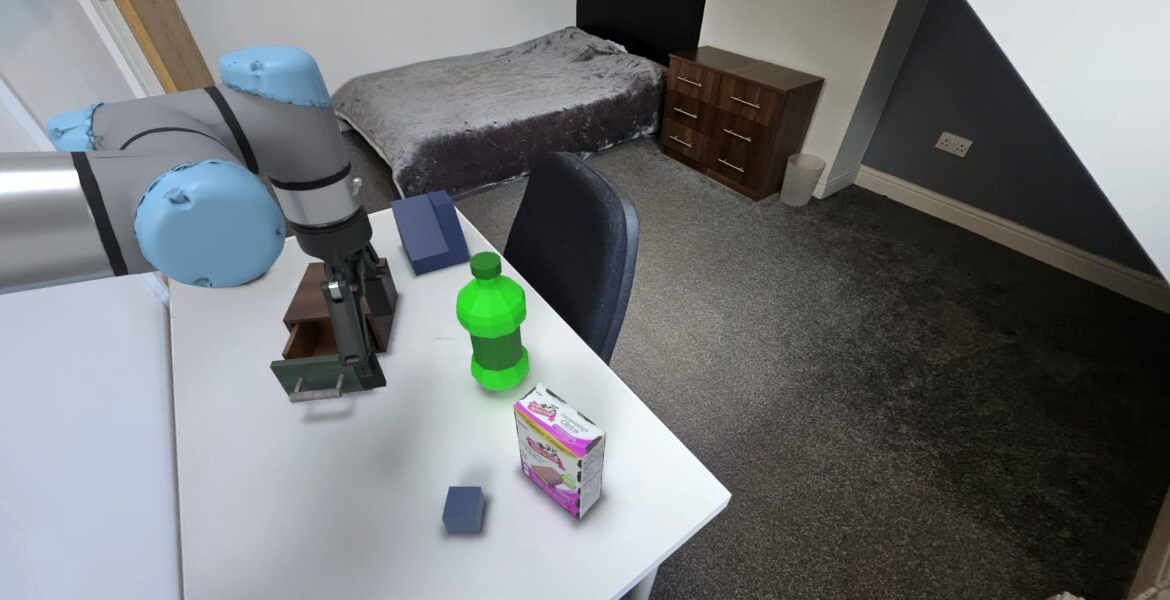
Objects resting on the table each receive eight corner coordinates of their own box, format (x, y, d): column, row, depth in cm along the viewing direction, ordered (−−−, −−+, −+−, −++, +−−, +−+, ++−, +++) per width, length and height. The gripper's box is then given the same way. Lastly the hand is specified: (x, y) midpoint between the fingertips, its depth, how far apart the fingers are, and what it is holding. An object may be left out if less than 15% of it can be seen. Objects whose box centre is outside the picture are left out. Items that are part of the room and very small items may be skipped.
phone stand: (416, 276, 101) (403, 228, 93) (403, 247, 109) (389, 201, 101) (469, 260, 106) (461, 214, 98) (453, 234, 114) (444, 189, 106)
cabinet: (386, 352, 84) (371, 312, 78) (304, 360, 83) (282, 320, 76) (398, 296, 96) (386, 257, 90) (327, 302, 94) (309, 262, 88)
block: (447, 532, 61) (441, 518, 58) (454, 501, 64) (449, 486, 61) (479, 533, 61) (475, 518, 58) (485, 501, 64) (481, 486, 62)
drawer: (367, 411, 74) (352, 379, 69) (281, 421, 72) (259, 389, 67) (386, 328, 88) (374, 296, 82) (314, 335, 86) (298, 302, 81)
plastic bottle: (524, 406, 76) (512, 288, 60) (462, 396, 77) (433, 277, 61) (539, 360, 84) (532, 244, 67) (482, 352, 85) (461, 236, 68)
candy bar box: (519, 473, 67) (510, 404, 57) (544, 449, 70) (539, 379, 60) (578, 524, 62) (580, 459, 51) (602, 497, 65) (608, 429, 54)
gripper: (350, 276, 42) (404, 417, 56) (373, 158, 60) (410, 287, 74) (256, 288, 40) (336, 429, 54) (309, 163, 58) (359, 293, 72)
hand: (379, 347), depth 64 cm, fingers open, 13 cm apart
